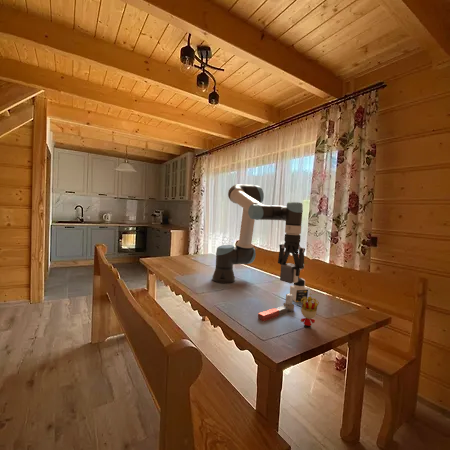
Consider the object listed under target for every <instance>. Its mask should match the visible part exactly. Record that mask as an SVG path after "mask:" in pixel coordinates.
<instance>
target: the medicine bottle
mask: <svg viewBox="0 0 450 450" xmlns="http://www.w3.org/2000/svg"><path fill="white" fill-rule="evenodd" d="M305 286H306V280H305V278H303V277H299V282H296V283H293V285H290V286H289V294H292V295H293V301H294V302H295V303H301V299H302V298H303V297H307V298H308V297H309V296H308V295H309V289H308V288H307V287H305ZM305 299H306V298H305ZM306 302H308V301H306ZM302 303H303V300H302Z"/></svg>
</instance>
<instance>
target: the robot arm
mask: <svg viewBox="0 0 450 450" xmlns="http://www.w3.org/2000/svg"><path fill="white" fill-rule="evenodd" d="M227 197H228V199H229V201H230V202H232V203H233V204H236V205H239V206H240V207H241V208H242V216H241V221H240V229H239V230H240V232H239V238H238V242H236V244H235V246H234V245H232V244H222V245H219V246H217V248H216V252H215V268H214V272H213V274H212V277H211V278H212V281H214V282H215V283H220V284H231V283H234V282H235V280H236V277H235V273H234V265H249V264H252V263H253V262H254V261H255V259H256V249H255V247H254V245H253V244H252V241H253V235H254V227H255V220H256V221H262V220H263V221H282V222H285V229H284V233H285V234H284V237H283V238H284V239H283V240H284V243H283V244H281V243H280V244H279V245H278V247H279V248H278V249H279V252H278V257H277V258H278V260H277V264H279V265H281V264H286V263H287V262H288V258H289V257H290V254H291V255H292V256H293V262H294V263H293V264H295V268H296V269H294V277H293V283H292V284H294V283H296V282H298V276H299V277H300V272H301V270H303V269H304V268H305V252H306V248H305V247H301V245H300V243H301V237H302V236H301V234H302V223H303V222H302V221H303V213H304V212H303V206H304V205H303V203H302V202H297V201H288V202H287V203H286V205H272V204H271V205H270V204H263V201H264V198H265V196H264V191H263V188H262V187H261V186H259V185H255V184H243V183H242V184H241V183H239V184H234V185H232V186H231V187H230V188H229V189H228V192H227Z"/></svg>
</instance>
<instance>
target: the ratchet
mask: <svg viewBox="0 0 450 450" xmlns="http://www.w3.org/2000/svg"><path fill="white" fill-rule="evenodd" d="M282 304H283V305H281V306H279V307H278V306H277V307H276V308H274V307H273V308H270V309H266V310H264V311H261V312H258V313H257V320H259V321H260V322H263V321H264V322H266V321H269V320H272V319H274V318H277V317H279V316H282V315H284V314H287V313H293V312H295V304H294V302H293V295H292V294H290V293H287V294H285V302H284V303H282Z"/></svg>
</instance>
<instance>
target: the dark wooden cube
mask: <svg viewBox="0 0 450 450" xmlns="http://www.w3.org/2000/svg"><path fill="white" fill-rule="evenodd" d="M294 269H296V268H295V263H291V262H288V263H287V262H286V264H280V273H279V274H280V275H279V280H280V281H281V282H284V283H288V284H294V283H293V277H294ZM299 278H300V275H299V276H298V282H299Z"/></svg>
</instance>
